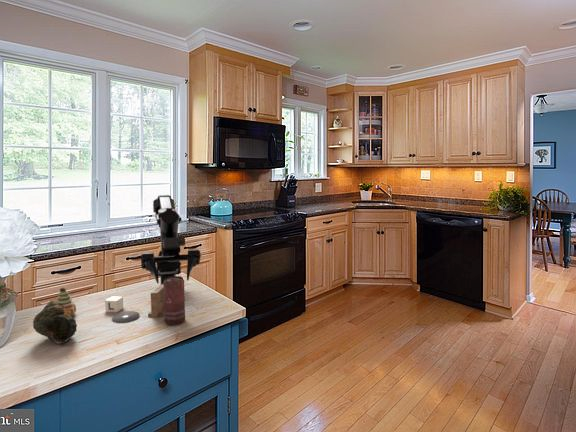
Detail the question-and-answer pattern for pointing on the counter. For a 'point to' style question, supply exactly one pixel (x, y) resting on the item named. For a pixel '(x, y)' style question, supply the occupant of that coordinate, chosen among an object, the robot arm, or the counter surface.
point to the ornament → (65, 302)
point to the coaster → (125, 316)
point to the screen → (157, 302)
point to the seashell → (54, 323)
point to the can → (174, 300)
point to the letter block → (114, 304)
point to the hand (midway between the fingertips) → (173, 281)
